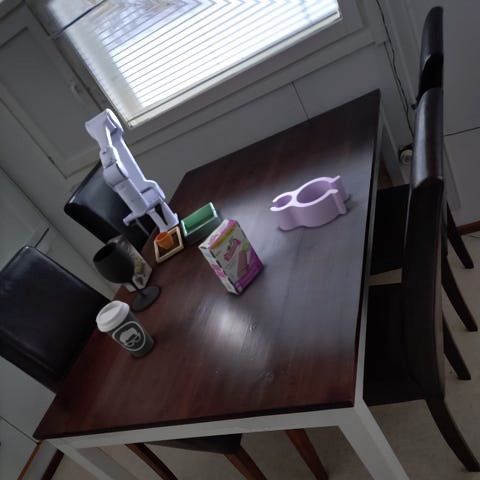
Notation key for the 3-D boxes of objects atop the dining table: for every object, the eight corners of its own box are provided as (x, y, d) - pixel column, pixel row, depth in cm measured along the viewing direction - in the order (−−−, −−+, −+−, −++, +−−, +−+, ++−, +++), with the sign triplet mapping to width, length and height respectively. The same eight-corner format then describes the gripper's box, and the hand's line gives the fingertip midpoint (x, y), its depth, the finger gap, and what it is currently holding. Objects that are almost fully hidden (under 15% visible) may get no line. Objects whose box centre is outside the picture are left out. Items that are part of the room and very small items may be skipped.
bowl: (162, 246, 161) (155, 236, 159) (174, 238, 161) (167, 228, 158) (163, 253, 157) (156, 243, 154) (176, 245, 156) (168, 235, 154)
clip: (277, 237, 129) (267, 218, 125) (285, 211, 137) (275, 192, 133) (345, 218, 119) (336, 197, 115) (349, 191, 127) (341, 170, 123)
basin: (186, 230, 162) (180, 221, 159) (216, 211, 160) (210, 202, 157) (191, 246, 152) (184, 236, 149) (223, 226, 150) (217, 216, 147)
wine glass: (136, 316, 138) (93, 269, 126) (129, 302, 146) (87, 257, 134) (163, 294, 139) (122, 246, 127) (154, 282, 147) (115, 235, 135)
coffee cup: (163, 332, 125) (129, 295, 116) (149, 360, 120) (113, 324, 110) (138, 335, 130) (104, 301, 121) (124, 362, 125) (87, 328, 116)
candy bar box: (240, 295, 119) (208, 249, 109) (228, 292, 123) (196, 247, 113) (265, 266, 122) (237, 219, 112) (253, 263, 126) (224, 217, 116)
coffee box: (145, 287, 148) (113, 251, 138) (130, 292, 151) (98, 257, 141) (153, 269, 154) (123, 233, 144) (138, 274, 157) (108, 239, 147)
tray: (156, 244, 166) (153, 241, 165) (179, 229, 164) (177, 226, 163) (159, 264, 154) (156, 261, 153) (184, 249, 153) (181, 245, 152)
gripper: (114, 214, 144) (140, 246, 153) (152, 190, 142) (176, 223, 151) (114, 206, 150) (139, 237, 158) (151, 182, 148) (174, 215, 156)
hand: (157, 230), depth 155 cm, fingers open, 7 cm apart
